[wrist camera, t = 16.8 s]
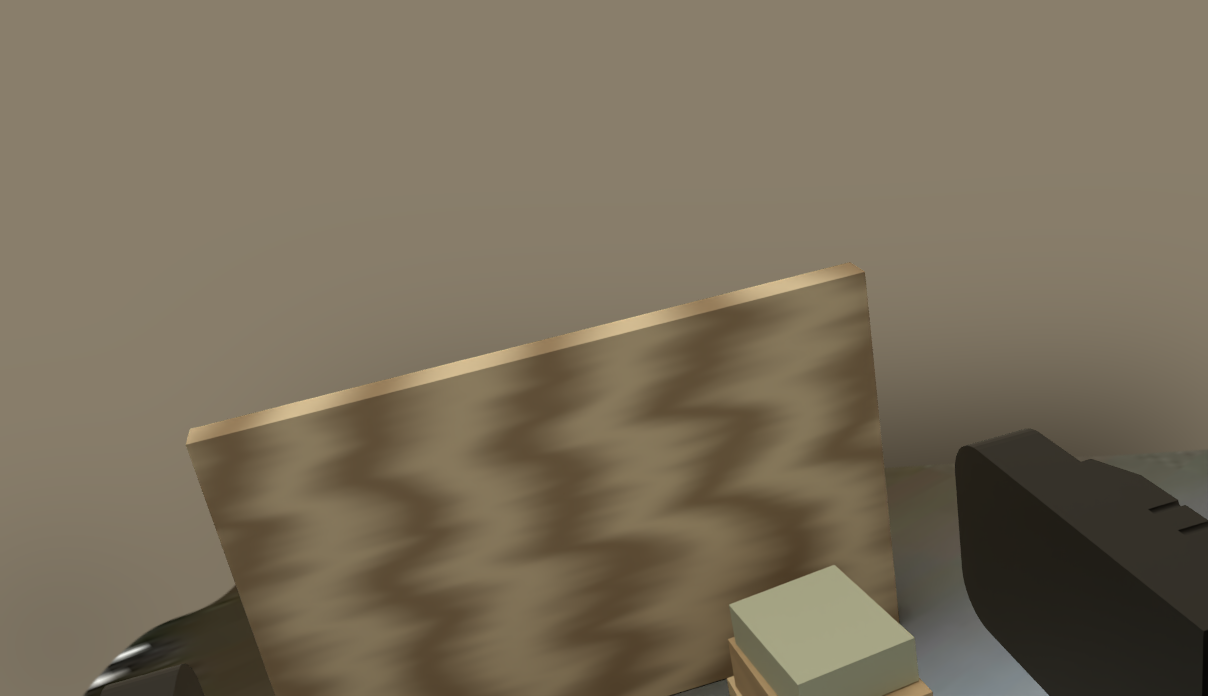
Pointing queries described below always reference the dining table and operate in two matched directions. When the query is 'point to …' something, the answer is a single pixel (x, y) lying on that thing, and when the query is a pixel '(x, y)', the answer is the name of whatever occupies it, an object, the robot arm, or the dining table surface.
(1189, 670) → the robot arm
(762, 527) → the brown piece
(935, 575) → the dining table surface
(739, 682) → the oak offcut
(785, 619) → the sage offcut
